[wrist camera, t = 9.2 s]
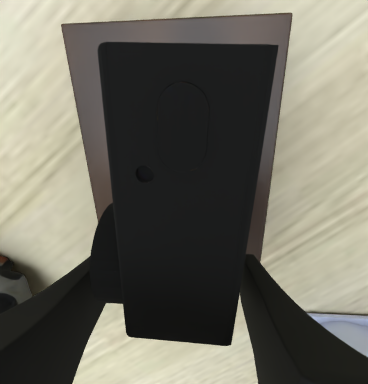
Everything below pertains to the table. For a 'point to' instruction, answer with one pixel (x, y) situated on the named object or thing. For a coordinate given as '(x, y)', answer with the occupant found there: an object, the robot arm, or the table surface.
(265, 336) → the robot arm
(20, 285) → the lucky cat figurine
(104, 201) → the desk shelf
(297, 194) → the table surface
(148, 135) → the digital camera
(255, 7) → the table surface
